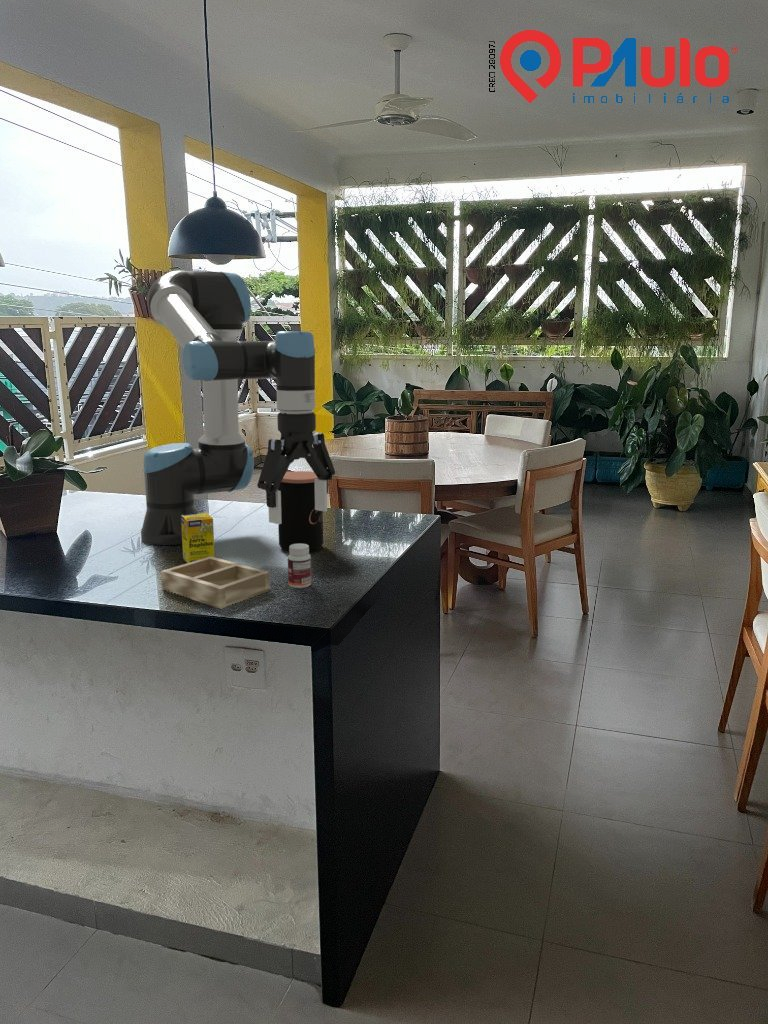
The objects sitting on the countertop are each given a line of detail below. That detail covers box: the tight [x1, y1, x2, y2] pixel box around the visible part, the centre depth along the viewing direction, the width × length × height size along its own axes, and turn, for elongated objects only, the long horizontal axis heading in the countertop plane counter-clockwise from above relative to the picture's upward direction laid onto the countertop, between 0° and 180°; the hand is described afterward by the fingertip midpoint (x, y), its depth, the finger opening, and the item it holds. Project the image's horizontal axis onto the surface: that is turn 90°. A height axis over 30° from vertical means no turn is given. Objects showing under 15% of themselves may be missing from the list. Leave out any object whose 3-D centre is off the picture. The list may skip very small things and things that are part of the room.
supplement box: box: [181, 512, 216, 564], centre depth 171 cm, size 6×6×11 cm
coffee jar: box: [277, 470, 324, 554], centre depth 182 cm, size 11×11×18 cm
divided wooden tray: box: [160, 556, 271, 610], centre depth 154 cm, size 18×13×4 cm
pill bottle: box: [287, 543, 312, 589], centre depth 157 cm, size 5×5×8 cm
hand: (298, 516), depth 155 cm, fingers open, 13 cm apart
